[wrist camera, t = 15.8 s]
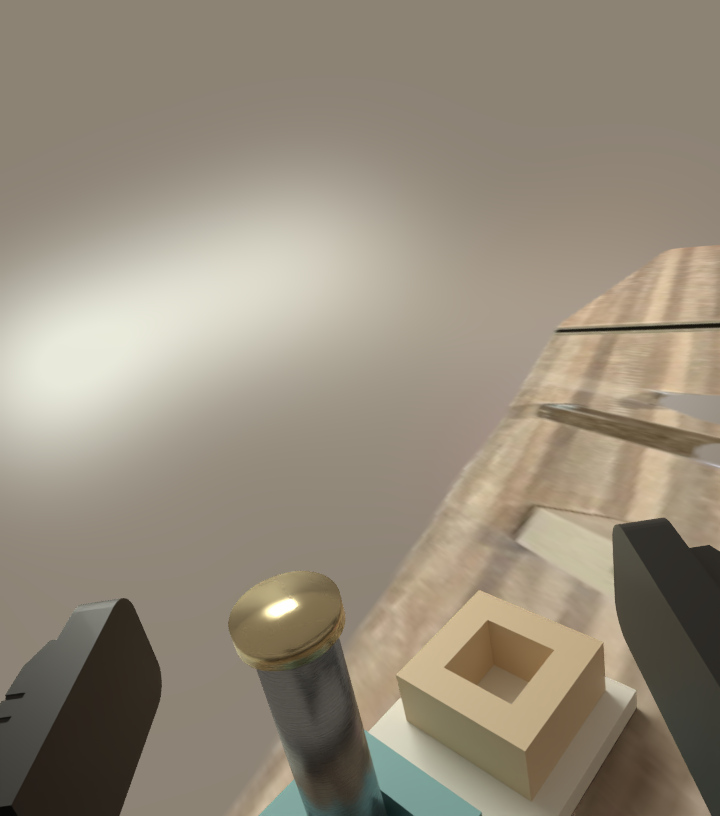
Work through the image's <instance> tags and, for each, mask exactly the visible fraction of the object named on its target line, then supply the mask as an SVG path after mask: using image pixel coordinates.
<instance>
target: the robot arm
mask: <svg viewBox="0 0 720 816" xmlns="http://www.w3.org/2000/svg"><path fill="white" fill-rule="evenodd" d="M613 562H614V587H615V604H616V611H617V616H618V620H619V624H620V627H621V630H622V633H623V636H624V638H625V641H626V643H627V645H628V647H629V649H630V651H631V653H632V655H633V657H634V659H635V661H636V663H637V665H638V667H639V669H640V671H641V673H642V675H643V677H644V679H645V681H646V683H647V685H648V688H649V690H650V692H651V694H652V696H653V698H654V700H655V702H656V704H657V706H658V708H659V710H660V712H661V714H662V716H663V718H664V720H665V722H666V724H667V726H668V728H669V730H670V732H671V734H672V736H673V738H674V740H675V742H676V744H677V746H678V748H679V750H680V752H681V755H682V757H683V759H684V761H685V763H686V765H687V767H688V769H689V771H690V773H691V775H692V777H693V779H694V781H695V783H696V785H697V787H698V789H699V791H700V793H701V795H702V797H703V799H704V801H705V803H706V805H707V807H708V809H709V811H710V813H711V815H712V816H720V551H718V550H716V549H715V548H713V547H712V546H710V545H706V546H700V547H693V548H689V547H688V546H687V544H686V543H685V542H684V540H683V539H682V538H681V536H680V535H679V534H678V532H677V531H676V530H675V528H674V527H673V526H672V524H671V523H670V522H669V521H668V520H667V519H665V518H658V519H651V520H644V521H638V522H631V523H625V524H618V525H615V526H614V528H613ZM161 681H162V680H161V672H160V667H159V664H158V661H157V660H156V657H155V654H154V652H153V650H152V647H151V645H150V643H149V640H148V638H147V636H146V634H145V631H144V629H143V626H142V624H141V622H140V620H139V617H138V615H137V613H136V610H135V608H134V606H133V604H132V603H131V602H130V601H129V600H128V599H125V598H121V599H115V600H108V601H102V602H95V603H90V604H83V605H80V606H78V607H77V608H76V609H75V610H74V612H73V613H72V615H71V617H70V618H69V620H68V622H67V623H66V625H65V627H64V629H63V630H62V632H61V634H60V635H59V637H58V639H57V640H51V641H49V642H48V643H47V644H46V645H45V646H44V647H43V648H42V649H41V650H40V651H39V652H38V653H37V654H36V655H35V656H34V657H33V658H32V659H31V660H30V661H29V662H28V663H27V664H25V665H24V667H23V668H22V669H21V671H20V673H19V674H18V676H17V677H16V679H15V681H14V682H13V684H12V685H11V687H10V689H9V690H8V692H7V694H6V695H5V696H6V700H5V701H2V702H1V703H0V816H119V815H120V812H121V809H122V807H123V804H124V801H125V798H126V796H127V793H128V790H129V787H130V784H131V781H132V779H133V776H134V773H135V770H136V767H137V764H138V761H139V759H140V756H141V753H142V750H143V747H144V745H145V742H146V739H147V736H148V733H149V730H150V728H151V725H152V722H153V719H154V716H155V714H156V710H157V708H158V705H159V702H160V697H161V687H162V684H161V683H162V682H161Z"/></svg>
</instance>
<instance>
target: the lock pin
mask: <svg viewBox="0 0 720 816" xmlns="http://www.w3.org/2000/svg"><path fill="white" fill-rule="evenodd" d="M228 624H229V631H230V634H231V637H232V640H233V643H234V646H235V648H236V651H237V653H238V656H239V657H240V658H241V660H242V661H243V662H245V663H246V664H247V665H249V666H251V667H253V668H255V669H257V672H258V675H259V678H260V681H261V684H262V687H263V690H264V692H265V695H266V698H267V701H268V704H269V707H270V710H271V713H272V715H273V718H274V721H275V724H276V727H277V730H278V733H279V736H280V739H281V742H282V745H283V747H284V750H285V753H286V756H287V759H288V762H289V765H290V768H291V771H292V773H293V776H294V779H295V782H296V785H297V788H298V791H299V794H300V797H301V799H302V802H303V805H304V808H305V811H306V814H307V816H387V813H386V809H385V806H384V802H383V798H382V795H381V791H380V787H379V784H378V780H377V776H376V772H375V769H374V765H373V761H372V758H371V754H370V750H369V747H368V743H367V739H366V736H365V732H364V728H363V724H362V721H361V717H360V713H359V710H358V706H357V702H356V699H355V695H354V691H353V688H352V684H351V680H350V677H349V673H348V669H347V665H346V662H345V658H344V654H343V651H342V647H341V643H340V640H339V636H340V635H341V633H342V631H343V628H344V624H345V612H344V608H343V604H342V600H341V596H340V592H339V589H338V587H337V585H336V584H335V583H334V582H333V581H332V580H331V579H330V578H328V577H326V576H324V575H322V574H319V573H316V572H310V571H295V572H288V573H284V574H280V575H276V576H274V577H271V578H269V579H267V580H265V581H262V582H261V583H259V584H257V585H255V586H254V587H252V588H251V589H250V590H249V591H247V592H246V593H245V594H244V595H243V596H242V597H241V598H240V599H239V601H238V602H237V603H236V604H235V606H234V607H233V609H232V611H231V614H230V617H229V622H228Z"/></svg>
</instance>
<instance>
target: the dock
mask: <svg viewBox="0 0 720 816" xmlns="http://www.w3.org/2000/svg"><path fill="white" fill-rule="evenodd" d="M396 677H397V681H398V685H399V690H400V694H401V698H400V699H399V700H398V701H397V702H396V703H395V704H394V705H393V706H392V707H391V708H390V709H389V710H388V711H387V712H386V714H385V715H384V716H383V717H382V718H381V719H380V720H379V721H378V722H377V723H376V724H375V725H374V726H373V727H372V728H371V729H370V731H369V732H367V731H365V730H364V732H365V736H366V739H367V743H368V747H369V750H370V754H371V758H372V761H373V765H374V769H375V772H376V776H377V780H378V784H379V787H380V791H381V795H382V798H383V802H384V806H385V809H386V813H387V816H571V815H572V813H573V812H574V810H575V808H576V807H577V805H578V803H579V802H580V800H581V798H582V797H583V795H584V793H585V792H586V790H587V788H588V787H589V785H590V784H591V782H592V780H593V779H594V777H595V775H596V774H597V772H598V770H599V769H600V767H601V765H602V764H603V762H604V761H605V759H606V757H607V756H608V754H609V752H610V751H611V749H612V747H613V746H614V744H615V742H616V741H617V739H618V737H619V736H620V734H621V733H622V731H623V729H624V728H625V726H626V724H627V723H628V721H629V719H630V718H631V716H632V714H633V713H634V711H635V710H636V708H637V698H636V690H634V689H632V688H630V687H628V686H626V685H624V684H621V683H619V682H617V681H615V680H613V679H610V678H608V677H606V676H605V666H604V647H603V642H601V641H599V640H597V639H594V638H592V637H589V636H587V635H585V634H582V633H580V632H578V631H575V630H573V629H570V628H568V627H566V626H563V625H561V624H559V623H556V622H554V621H551V620H549V619H547V618H544V617H542V616H540V615H537V614H535V613H532V612H530V611H528V610H525V609H523V608H521V607H518V606H516V605H513V604H511V603H509V602H506V601H504V600H501V599H499V598H497V597H494V596H492V595H490V594H487V593H485V592H482V591H480V590H479V591H478V592H477V593H476V594H475V595H474V596H473V597H472V598H471V599H470V600H469V601H468V602H467V603H466V604H465V605H464V606H463V607H462V608H461V609H460V610H459V611H458V612H457V613H456V614H455V615H454V616H453V617H452V618H451V619H450V620H449V621H448V622H447V624H446V625H445V626H444V627H443V628H442V629H441V630H440V631H439V632H438V633H437V634H436V635H435V636H434V637H433V638H432V639H431V640H430V641H429V642H428V643H427V644H426V645H425V646H424V647H423V648H422V649H421V650H420V651H419V652H418V653H417V654H416V655H415V656H414V657H413V658H412V659H411V660H410V661H409V662H408V663H407V664H406V665H405V666H404V667H403V669H402V670H401V671H400V672H399V673H398V674H397V675H396ZM259 816H307V814H306V811H305V808H304V805H303V802H302V799H301V797H300V794H299V791H298V788H297V785H296V782H295V779H294V780H293V781H292V782H291V783H290V784H289V785H288V786H287V787H286V788H285V789H284V790H283V791H282V792H281V793H280V794H279V795H278V796H277V797H276V798H275V799H274V800H273V801H272V802H271V804H270V805H269V806H268V807H267V808H266V809H265V810H264V811H263V812H262V813H261V814H260V815H259Z"/></svg>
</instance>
